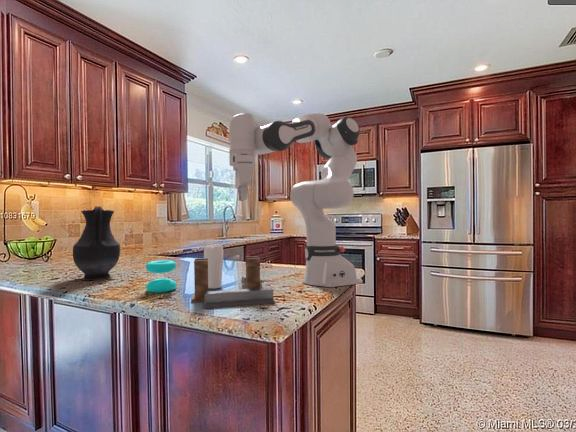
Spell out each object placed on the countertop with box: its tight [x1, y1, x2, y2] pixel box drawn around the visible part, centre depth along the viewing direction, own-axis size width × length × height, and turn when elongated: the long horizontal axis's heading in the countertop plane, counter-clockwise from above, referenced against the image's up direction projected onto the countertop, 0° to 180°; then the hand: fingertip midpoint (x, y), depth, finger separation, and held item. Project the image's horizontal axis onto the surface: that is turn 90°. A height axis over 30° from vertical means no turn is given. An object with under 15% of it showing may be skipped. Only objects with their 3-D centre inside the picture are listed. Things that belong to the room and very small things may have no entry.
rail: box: [204, 287, 274, 305], centre depth 99 cm, size 20×3×3 cm, turn 103°
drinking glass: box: [203, 244, 224, 290], centre depth 120 cm, size 7×7×15 cm
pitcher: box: [72, 205, 121, 281], centre depth 139 cm, size 17×21×30 cm
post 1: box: [190, 257, 209, 303], centre depth 104 cm, size 6×6×12 cm
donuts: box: [145, 259, 177, 294], centre depth 117 cm, size 10×10×10 cm
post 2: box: [245, 255, 261, 289], centre depth 107 cm, size 6×6×12 cm
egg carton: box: [240, 276, 263, 289], centre depth 118 cm, size 11×8×4 cm
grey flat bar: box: [204, 299, 276, 310], centre depth 99 cm, size 20×7×1 cm, turn 103°
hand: (242, 200), depth 116 cm, fingers open, 8 cm apart
